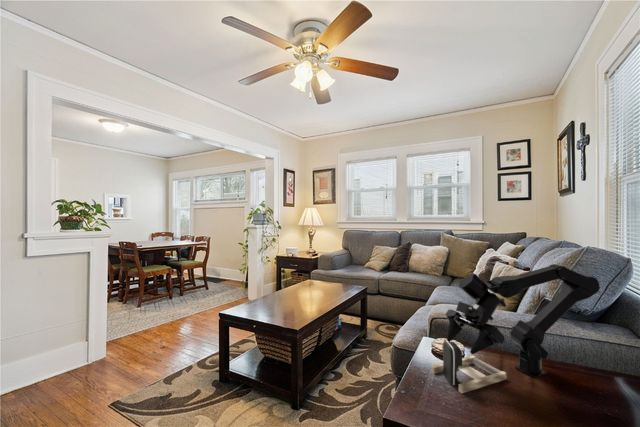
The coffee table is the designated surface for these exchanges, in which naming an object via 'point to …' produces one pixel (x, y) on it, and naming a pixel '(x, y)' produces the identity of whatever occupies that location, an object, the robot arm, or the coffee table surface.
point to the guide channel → (474, 374)
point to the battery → (451, 361)
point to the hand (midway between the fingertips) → (459, 346)
